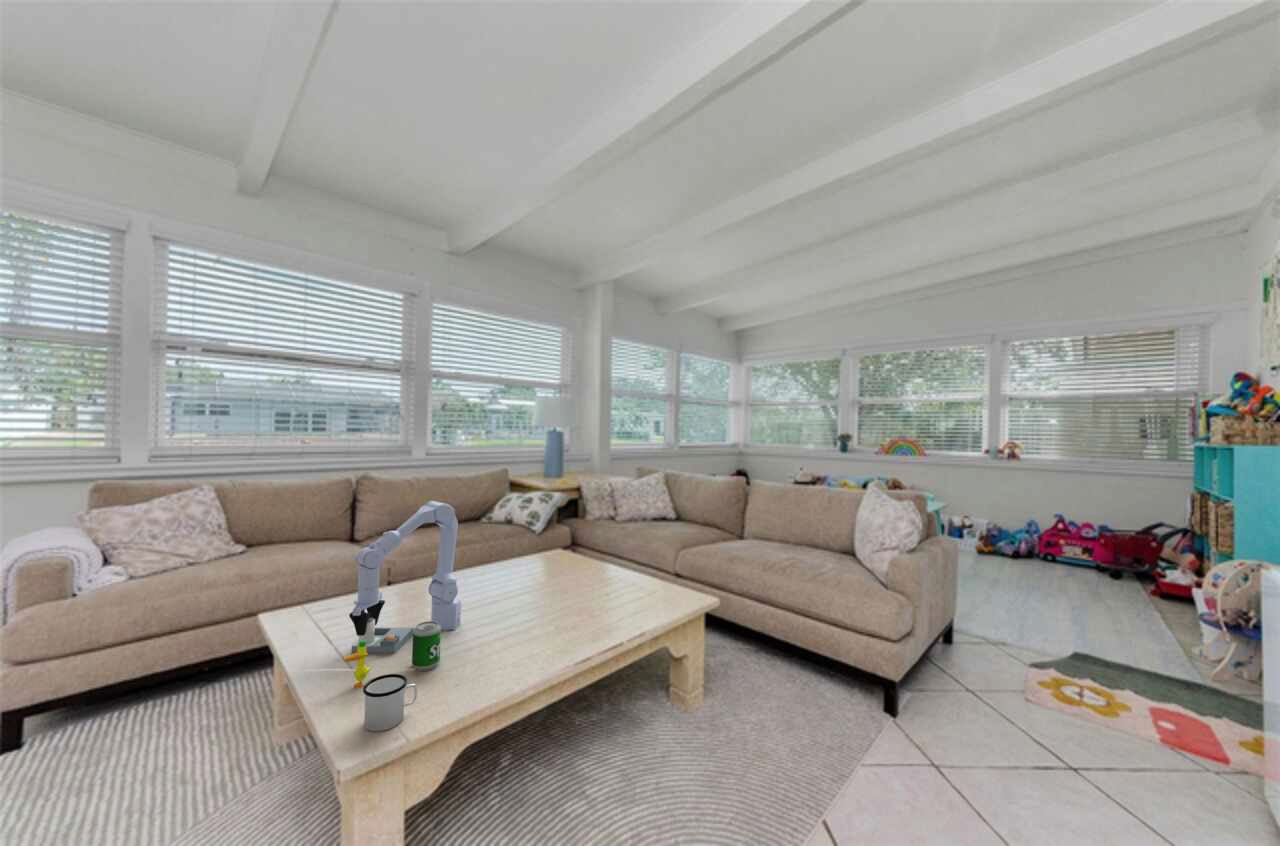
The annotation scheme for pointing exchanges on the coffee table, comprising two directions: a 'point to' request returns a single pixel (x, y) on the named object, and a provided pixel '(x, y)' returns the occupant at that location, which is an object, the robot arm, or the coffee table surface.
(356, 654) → the toy figure
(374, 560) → the robot arm
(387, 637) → the plunger
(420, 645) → the soda can
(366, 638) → the cylinder
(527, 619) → the coffee table surface
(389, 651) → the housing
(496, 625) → the coffee table surface
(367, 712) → the mug
